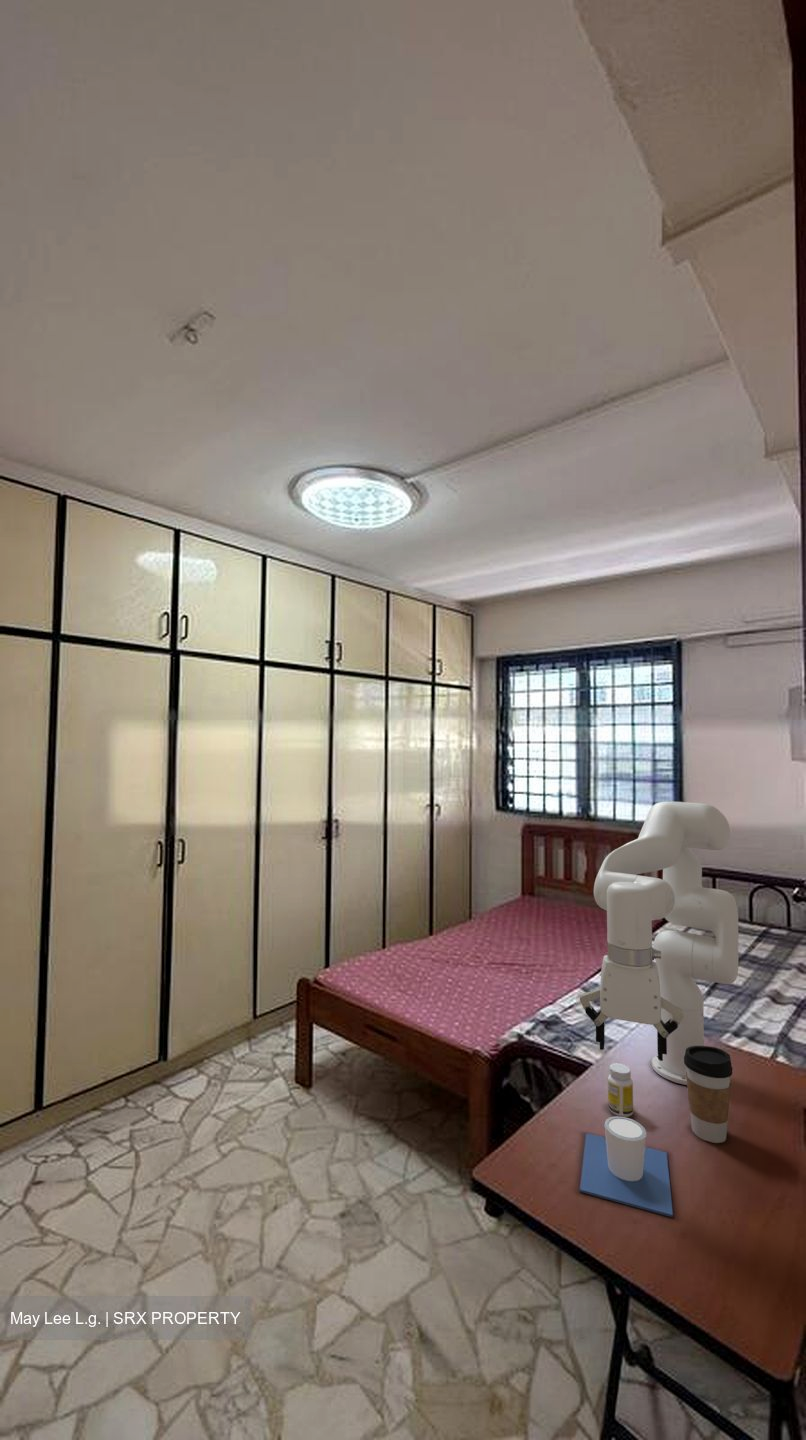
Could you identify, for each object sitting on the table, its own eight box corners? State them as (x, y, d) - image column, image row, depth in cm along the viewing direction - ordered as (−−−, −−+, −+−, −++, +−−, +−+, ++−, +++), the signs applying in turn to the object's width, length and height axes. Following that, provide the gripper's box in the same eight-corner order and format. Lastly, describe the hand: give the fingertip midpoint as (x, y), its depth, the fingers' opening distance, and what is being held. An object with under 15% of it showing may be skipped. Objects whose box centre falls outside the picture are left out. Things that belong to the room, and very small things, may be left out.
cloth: (586, 1134, 111) (586, 1132, 111) (666, 1154, 106) (666, 1152, 106) (579, 1191, 96) (579, 1189, 96) (673, 1217, 91) (672, 1215, 91)
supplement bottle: (632, 1106, 120) (632, 1064, 121) (633, 1119, 116) (633, 1076, 117) (608, 1102, 122) (607, 1060, 123) (608, 1114, 118) (608, 1071, 118)
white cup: (598, 1156, 104) (597, 1116, 105) (635, 1155, 105) (634, 1115, 105) (615, 1184, 97) (614, 1140, 98) (654, 1183, 98) (654, 1139, 98)
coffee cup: (740, 1150, 107) (739, 1066, 108) (691, 1143, 109) (690, 1060, 110) (725, 1123, 116) (723, 1045, 117) (679, 1117, 117) (678, 1040, 118)
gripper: (680, 953, 105) (682, 1051, 104) (580, 941, 111) (581, 1033, 110) (684, 967, 98) (686, 1072, 97) (577, 954, 104) (578, 1052, 103)
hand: (630, 1051), depth 104 cm, fingers open, 9 cm apart
